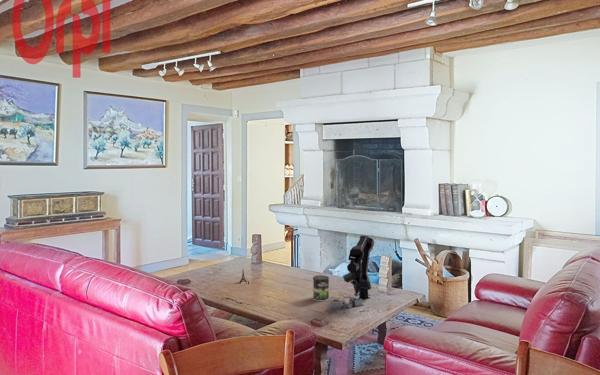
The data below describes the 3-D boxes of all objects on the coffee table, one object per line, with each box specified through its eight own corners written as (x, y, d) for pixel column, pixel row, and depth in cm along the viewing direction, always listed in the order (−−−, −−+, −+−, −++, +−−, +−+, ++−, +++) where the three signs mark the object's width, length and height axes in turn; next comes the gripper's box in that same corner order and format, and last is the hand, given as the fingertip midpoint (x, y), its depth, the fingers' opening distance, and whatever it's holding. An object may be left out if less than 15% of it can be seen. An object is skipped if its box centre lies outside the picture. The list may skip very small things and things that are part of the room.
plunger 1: (332, 306, 276) (332, 299, 276) (337, 306, 277) (337, 299, 277) (334, 308, 273) (334, 301, 273) (339, 307, 275) (339, 300, 274)
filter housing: (327, 306, 278) (327, 300, 278) (358, 302, 286) (358, 295, 286) (333, 311, 270) (333, 304, 270) (365, 306, 278) (365, 299, 278)
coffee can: (331, 300, 290) (331, 278, 289) (315, 302, 287) (315, 280, 286) (326, 295, 300) (325, 274, 299) (311, 297, 297) (310, 276, 296)
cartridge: (342, 305, 279) (342, 294, 279) (347, 304, 280) (347, 293, 280) (345, 307, 276) (345, 296, 275) (350, 306, 277) (350, 295, 277)
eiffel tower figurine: (241, 287, 324) (241, 268, 323) (231, 284, 330) (230, 266, 329) (255, 282, 336) (255, 264, 335) (245, 280, 342) (245, 262, 341)
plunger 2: (353, 300, 281) (353, 293, 281) (357, 299, 282) (357, 293, 282) (355, 301, 278) (355, 295, 278) (360, 301, 280) (360, 294, 279)
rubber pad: (325, 311, 270) (325, 310, 270) (334, 310, 272) (334, 309, 272) (329, 314, 265) (329, 313, 265) (338, 313, 267) (338, 312, 267)
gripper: (337, 266, 285) (338, 291, 286) (352, 273, 268) (352, 299, 269) (353, 264, 289) (353, 288, 290) (368, 271, 272) (368, 297, 273)
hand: (356, 293), depth 280 cm, fingers closed
